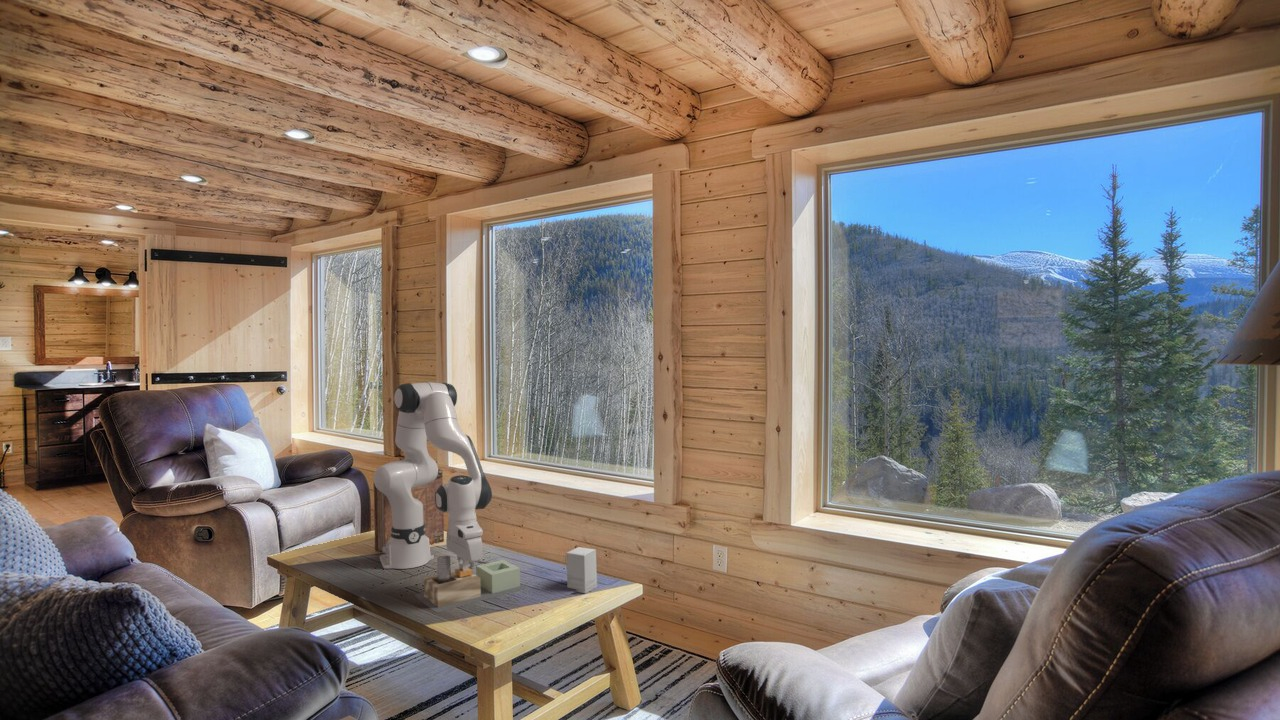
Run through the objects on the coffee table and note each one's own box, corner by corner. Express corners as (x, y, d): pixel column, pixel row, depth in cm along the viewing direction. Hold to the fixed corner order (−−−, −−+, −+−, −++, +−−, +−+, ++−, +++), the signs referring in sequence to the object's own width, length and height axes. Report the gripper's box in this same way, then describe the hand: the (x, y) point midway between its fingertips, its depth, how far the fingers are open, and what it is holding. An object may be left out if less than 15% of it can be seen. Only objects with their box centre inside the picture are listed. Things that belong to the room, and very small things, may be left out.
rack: (476, 583, 228) (476, 565, 228) (503, 576, 234) (503, 559, 234) (492, 593, 219) (491, 574, 219) (520, 586, 225) (519, 568, 225)
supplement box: (597, 586, 226) (597, 549, 225) (584, 594, 219) (584, 555, 219) (579, 583, 229) (578, 546, 229) (566, 590, 223) (565, 552, 223)
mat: (414, 597, 219) (413, 594, 219) (501, 576, 238) (501, 573, 238) (436, 615, 204) (436, 612, 204) (528, 591, 223) (527, 588, 223)
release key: (455, 586, 219) (455, 569, 219) (467, 583, 222) (466, 566, 222) (460, 589, 216) (460, 572, 216) (472, 586, 219) (472, 569, 219)
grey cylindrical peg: (436, 594, 216) (435, 557, 215) (448, 591, 218) (447, 554, 218) (440, 598, 212) (439, 560, 212) (453, 595, 215) (452, 557, 215)
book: (385, 555, 264) (383, 479, 264) (374, 550, 271) (372, 476, 270) (444, 541, 282) (442, 469, 282) (433, 537, 289) (431, 467, 288)
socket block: (423, 596, 217) (423, 577, 217) (465, 586, 226) (464, 568, 226) (438, 607, 208) (437, 588, 208) (480, 596, 216) (480, 577, 216)
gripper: (440, 522, 225) (441, 563, 225) (466, 535, 209) (467, 579, 209) (459, 519, 229) (460, 559, 229) (485, 531, 213) (486, 575, 213)
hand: (463, 569), depth 219 cm, fingers closed, pressing on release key
